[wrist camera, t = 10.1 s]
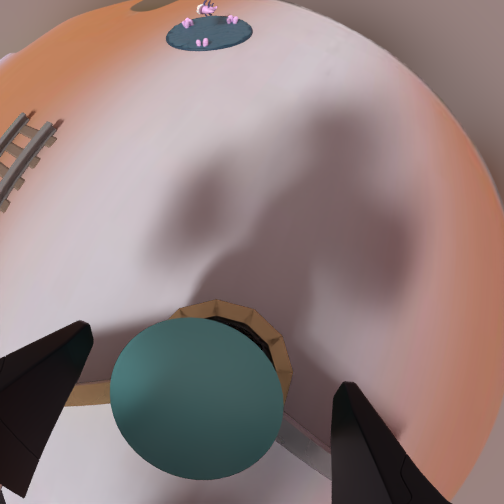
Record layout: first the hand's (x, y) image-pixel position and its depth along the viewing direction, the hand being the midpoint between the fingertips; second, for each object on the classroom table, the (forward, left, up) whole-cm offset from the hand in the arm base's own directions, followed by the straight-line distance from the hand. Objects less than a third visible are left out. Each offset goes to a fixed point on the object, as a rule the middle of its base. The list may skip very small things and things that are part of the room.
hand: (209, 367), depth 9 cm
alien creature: (+25, +30, -10) cm, 40 cm away
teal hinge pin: (-1, 0, -9) cm, 10 cm away
